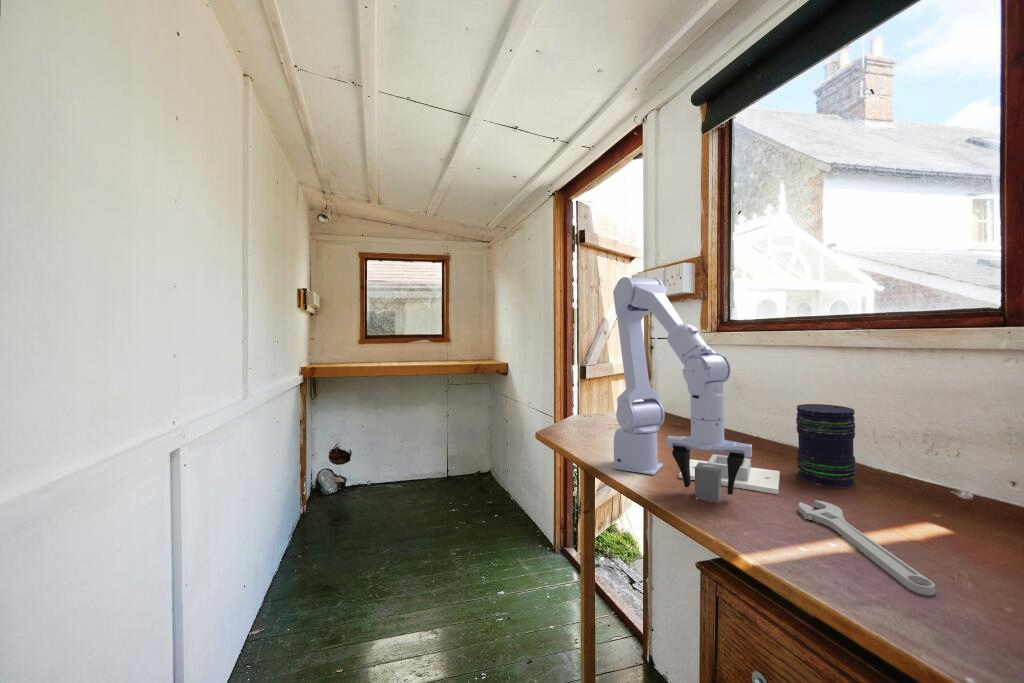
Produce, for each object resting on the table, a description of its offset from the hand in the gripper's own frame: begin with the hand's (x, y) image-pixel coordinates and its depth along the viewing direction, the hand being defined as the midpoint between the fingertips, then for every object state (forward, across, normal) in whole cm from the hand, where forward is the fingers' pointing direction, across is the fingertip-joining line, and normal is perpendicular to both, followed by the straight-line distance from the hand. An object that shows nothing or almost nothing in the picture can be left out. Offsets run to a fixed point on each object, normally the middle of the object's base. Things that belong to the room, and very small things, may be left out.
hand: (708, 489), depth 80 cm
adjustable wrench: (+2, +20, -7) cm, 22 cm away
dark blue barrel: (+2, +19, +22) cm, 29 cm away
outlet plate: (+2, +2, +14) cm, 14 cm away
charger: (+2, 0, 0) cm, 2 cm away
